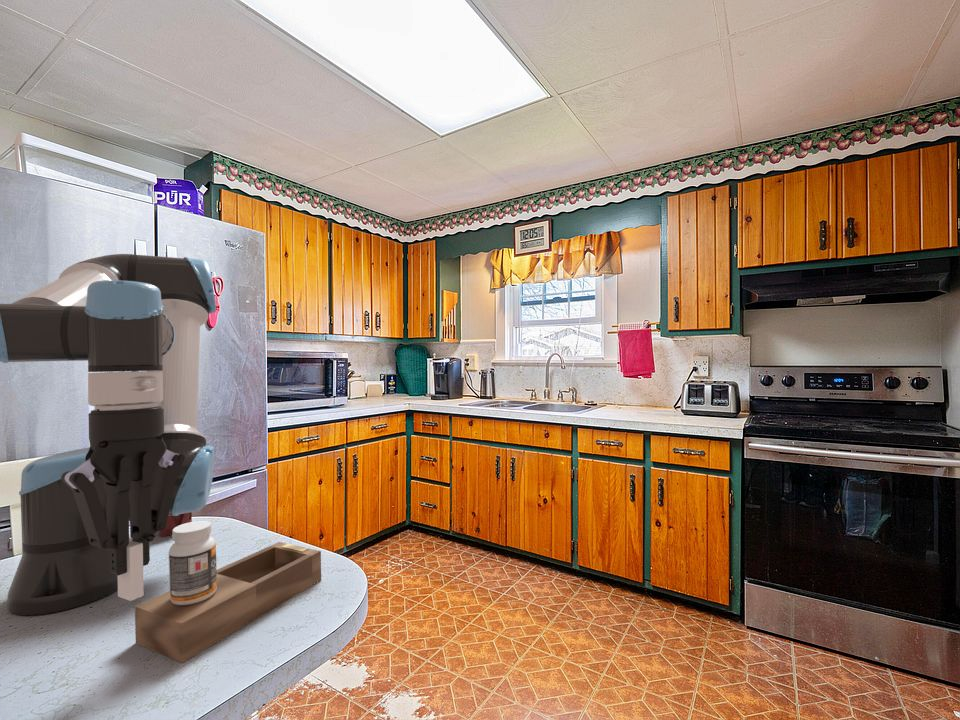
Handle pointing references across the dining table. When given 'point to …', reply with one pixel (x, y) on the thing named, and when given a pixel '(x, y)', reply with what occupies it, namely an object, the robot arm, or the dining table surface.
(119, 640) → the dining table surface
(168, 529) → the mechanical component
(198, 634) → the brown wooden open box
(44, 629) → the dining table surface
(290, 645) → the dining table surface
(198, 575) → the pill bottle
